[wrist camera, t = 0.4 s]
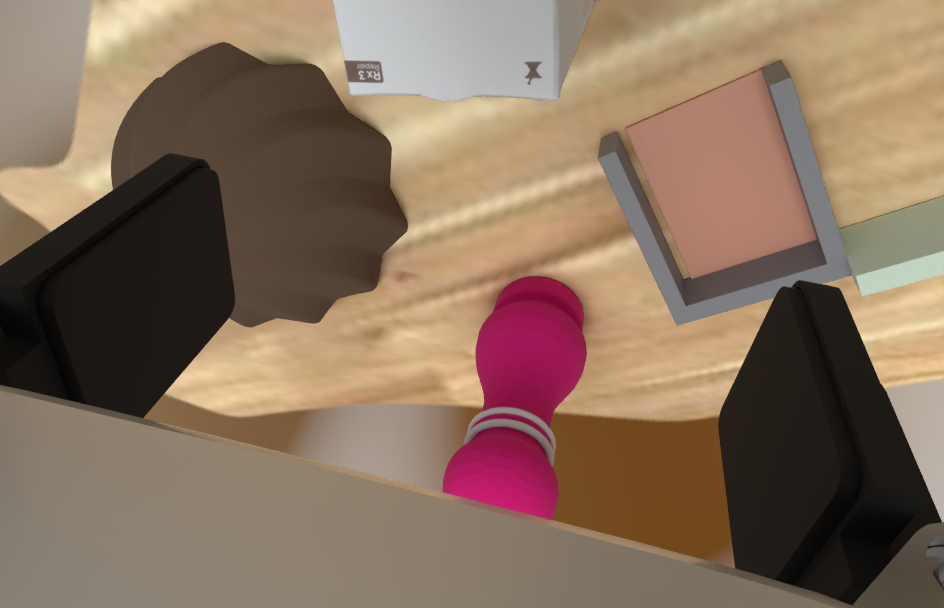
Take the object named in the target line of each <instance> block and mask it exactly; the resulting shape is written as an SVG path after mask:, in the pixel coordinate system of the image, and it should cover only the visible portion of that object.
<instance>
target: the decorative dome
mask: <svg viewBox="0 0 944 608" xmlns="http://www.w3.org/2000/svg"><path fill="white" fill-rule="evenodd" d="M391 151H392V148H391V144H390V142H389V140H388V139H387V138H386V137H385V136H384V135H382V134H380V133H379V132H377V131H376V130H375V129H373V128H372V127H370V126H369V125H367V124H365V123H364V122H362V121H361V120H359V119H358V118H356V117H355V116H353V115H352V114H350V113H349V112H348V111H347V110H346V108H345V106H344V105H343V103H342V102H341V100H340V98H339V97H338V95H337V93H336V92H335V90H334V89H333V87H332V85H331V84H330V82H329V80H328V79H327V77H326V76H325V74H324V72H323V71H322V70H321V69H320V68H319V67H317V66H315V65H312V64H298V65H269V64H267V63H265V62H263V61H261V60H259V59H257V58H255V57H253V56H251V55H250V54H248V53H246V52H244V51H242V50H240V49H238V48H236V47H235V46H233V45H231V44H229V43H225V42H223V43H219V44H216V45H213V46H211V47H209V48H206V49H204V50H202V51H200V52H198V53H196V54H194V55H192V56H190V57H188V58H186V59H185V60H183V61H181V62H180V63H178V64H177V65H175V66H174V67H173V68H172V69H170V70H169V71H168V72H167V73H165V74H164V75H163V76H162V77H159V78H156V79H155V80H154V81H153V82H152V83H151V84H150V85H149V86H148V87H147V88H146V89H145V90H144V91H143V92H142V93H141V95H140V96H139V97H138V98H137V99H136V101H135V102H134V103H133V105H132V106H131V108H130V109H129V111H128V112H127V114H126V116H125V117H124V119H123V121H122V123H121V125H120V128H119V130H118V133H117V135H116V138H115V142H114V146H113V152H112V160H111V177H112V186H113V190H114V189H116V188H117V187H118V186H120V185H121V184H123V183H124V182H126V181H127V180H129V179H130V178H132V177H133V176H135V175H136V174H138V173H139V172H141V171H142V170H144V169H145V168H147V167H148V166H150V165H151V164H153V163H154V162H156V161H157V160H159V159H160V158H162V157H163V156H164V155H166V154H169V153H174V154H179V155H184V156H189V157H194V158H199V159H204V160H205V161H206V162H207V163H208V164H209V166H210V169H211V170H214V171H215V172H216V173H217V175H218V177H219V182H220V190H221V197H222V204H223V211H224V219H225V226H226V233H227V240H228V248H229V255H230V262H231V270H232V277H233V284H234V291H235V306H234V309H233V312H232V314H231V316H230V317H229V318H230V319H232V320H233V321H235V322H237V323H239V324H241V325H243V326H246V327H254V326H257V325H259V324H262V323H264V322H267V321H270V320H273V319H276V318H280V319H288V320H294V321H300V322H306V323H318V322H320V321H321V319H322V318H323V317H324V315H325V314H326V313H327V311H328V310H329V308H330V307H331V306H332V305H333V303H334V302H335V301H336V300H337V299H339V298H342V297H346V296H350V295H354V294H359V293H365V292H370V291H373V290H374V289H375V288H376V286H377V282H378V277H379V271H380V265H381V260H382V255H383V253H384V252H385V251H387V250H388V249H389V248H390V247H391V246H392V245H393V244H394V243H395V242H396V241H397V240H398V239H399V238H400V237H402V236H403V235H404V234H405V233H406V231H407V229H408V223H407V221H406V219H405V217H404V215H403V213H402V211H401V209H400V207H399V204H398V202H397V200H396V198H395V196H394V194H393V192H392V190H391V188H390V171H391Z"/></svg>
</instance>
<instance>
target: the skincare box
mask: <svg viewBox="0 0 944 608" xmlns="http://www.w3.org/2000/svg"><path fill="white" fill-rule="evenodd" d="M594 1H595V0H333V3H334V9H335V14H336V20H337V25H338V31H339V36H340V41H341V47H342V52H343V58H344V63H345V69H346V76H347V82H348V89H349V93H350V95H352V96H378V95H405V96H426V97H429V98H432V99H435V100H440V101H461V100H464V99H467V98H470V97H510V98H522V99H531V100H540V101H555V100H558V99H559V97H560V90H561V87H562V85H563V82H564V79H565V77H566V75H567V72H568V69H569V67H570V64H571V62H572V59H573V57H574V54H575V51H576V49H577V46H578V43H579V41H580V38H581V36H582V33H583V31H584V28H585V25H586V23H587V21H588V18H589V16H590V13H591V11H592V8H593V6H594Z"/></svg>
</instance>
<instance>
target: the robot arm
mask: <svg viewBox="0 0 944 608" xmlns="http://www.w3.org/2000/svg"><path fill="white" fill-rule="evenodd" d="M234 306H235V291H234V284H233V277H232V270H231V262H230V255H229V248H228V240H227V233H226V226H225V219H224V211H223V204H222V197H221V190H220V182H219V177H218V175H217V173H216V172H215V171H214V170H211V169H210V166H209V164H208V163H207V162H206V161H205V160H204V159H199V158H194V157H189V156H184V155H179V154H174V153H169V154H166V155H164V156H163V157H162V158H160V159H159V160H157V161H156V162H154V163H153V164H151V165H150V166H148V167H147V168H145V169H144V170H142V171H141V172H139V173H138V174H136V175H135V176H133V177H132V178H130V179H129V180H127V181H126V182H124V183H123V184H121V185H120V186H118V187H117V188H116V189H114V190H113V191H111V192H110V193H108V194H107V195H105V196H104V197H102V198H101V199H99V200H98V201H96V202H95V203H93V204H92V205H90V206H89V207H87V208H86V209H84V210H83V211H81V212H80V213H78V214H77V215H75V216H74V217H72V218H71V219H70V220H68V221H67V222H65V223H64V224H62V225H61V226H59V227H58V228H56V229H55V230H53V231H52V232H50V233H49V234H47V235H46V236H44V237H43V238H41V239H40V240H38V241H37V242H35V243H34V244H32V245H31V246H29V247H28V248H26V249H25V250H24V251H22V252H21V253H19V254H18V255H16V256H15V257H13V258H12V259H10V260H9V261H7V262H6V263H4V264H3V265H1V266H0V608H944V522H943V523H942V521H941V519H940V517H939V514H938V512H937V509H936V507H935V505H934V502H933V500H932V498H931V495H930V493H929V491H928V488H927V486H926V483H925V481H924V479H923V476H922V474H921V472H920V469H919V467H918V465H917V462H916V460H915V458H914V456H913V453H912V451H911V448H910V446H909V444H908V442H907V439H906V437H905V435H904V432H903V430H902V427H901V425H900V423H899V421H898V419H897V416H896V413H895V411H894V409H893V407H892V404H891V402H890V399H889V397H888V395H887V392H886V391H885V389H884V388H883V386H882V384H880V381H879V379H878V377H877V374H876V372H875V370H874V367H873V365H872V363H871V360H870V358H869V355H868V353H867V351H866V348H865V346H864V344H863V341H862V339H861V337H860V334H859V332H858V329H857V327H856V325H855V322H854V320H853V318H852V315H851V313H850V311H849V308H848V306H847V303H846V301H845V299H844V296H843V294H842V292H841V290H840V289H839V288H837V287H833V286H828V285H823V284H818V283H813V282H808V281H803V280H798V281H796V282H795V283H794V284H793V286H792V287H786V286H783V287H781V288H780V289H779V290H778V292H777V294H776V296H775V298H774V300H773V302H772V304H771V306H770V308H769V310H768V312H767V315H766V317H765V319H764V321H763V323H762V325H761V327H760V329H759V331H758V333H757V335H756V337H755V340H754V342H753V344H752V346H751V348H750V350H749V352H748V354H747V356H746V358H745V360H744V362H743V365H742V367H741V369H740V371H739V373H738V375H737V377H736V379H735V381H734V383H733V385H732V387H731V390H730V392H729V394H728V396H727V398H726V400H725V402H724V404H723V406H722V409H721V412H720V416H719V425H718V428H719V438H720V446H721V454H722V462H723V471H724V479H725V488H726V496H727V504H728V513H729V521H730V529H731V537H732V546H733V554H734V561H735V568H732V567H728V566H725V565H721V564H717V563H714V562H710V561H706V560H702V559H699V558H695V557H691V556H687V555H683V554H680V553H676V552H672V551H668V550H665V549H661V548H657V547H654V546H650V545H646V544H642V543H639V542H635V541H631V540H627V539H623V538H619V537H615V536H612V535H608V534H604V533H600V532H596V531H592V530H588V529H584V528H580V527H576V526H572V525H568V524H565V523H560V522H557V521H553V520H549V519H545V518H541V517H537V516H533V515H529V514H525V513H522V512H518V511H514V510H510V509H506V508H502V507H498V506H494V505H490V504H486V503H482V502H478V501H475V500H471V499H467V498H463V497H459V496H455V495H451V494H447V493H443V492H439V491H435V490H431V489H427V488H423V487H419V486H415V485H411V484H407V483H403V482H398V481H395V480H391V479H387V478H383V477H379V476H375V475H371V474H367V473H363V472H359V471H355V470H351V469H347V468H343V467H339V466H335V465H331V464H327V463H323V462H319V461H315V460H310V459H307V458H303V457H299V456H294V455H291V454H287V453H283V452H279V451H274V450H271V449H267V448H263V447H259V446H254V445H251V444H246V443H242V442H238V441H234V440H230V439H226V438H222V437H218V436H214V435H209V434H205V433H201V432H197V431H193V430H189V429H184V428H181V427H176V426H172V425H168V424H164V423H160V422H156V421H152V420H148V419H144V417H145V415H146V414H147V413H148V412H149V410H151V408H152V407H153V406H154V405H155V404H156V402H157V401H158V400H159V399H160V398H161V397H162V396H163V394H164V393H165V392H166V391H167V390H168V389H169V387H170V386H171V385H172V384H173V383H174V381H175V380H176V379H177V378H178V377H179V376H180V374H181V373H182V372H183V371H184V370H185V369H186V367H187V366H188V365H189V364H190V363H191V362H192V360H193V359H194V358H195V357H196V356H197V355H198V353H199V352H200V351H201V350H202V349H203V348H204V346H205V345H206V344H207V343H208V342H209V341H210V339H211V338H212V337H213V336H214V335H215V334H216V332H217V331H218V330H219V329H220V328H221V327H222V325H223V324H224V323H225V322H226V321H227V320H228V318H229V317H230V316H231V314H232V312H233V309H234Z"/></svg>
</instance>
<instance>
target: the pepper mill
mask: <svg viewBox="0 0 944 608" xmlns="http://www.w3.org/2000/svg"><path fill="white" fill-rule="evenodd" d="M583 316H584V314H583V309H582V306H581V304H580V301H579V299H578V298H577V297H576V295H575V294H574V293H573V292H572V291H571V290H570V289H569V288H567V287H566V286H564V285H563V284H561V283H559V282H557V281H554V280H551V279H548V278H543V277H528V278H524V279H521V280H517V281H515V282H513V283H511V284H510V285H508V286H507V287H506V288H505V289H504V290H503V291H502V292H501V294H500V295H499V297H498V299H497V302H496V305H495V308H494V312H493V313H492V314H491V315H490V316H489V317H488V318H487V319H486V321H485V322H484V324H483V325H482V327H481V329H480V331H479V335H478V340H477V345H476V366H477V372H478V375H479V379H480V382H481V385H482V389H483V393H484V406H483V411H482V412H481V413H480V414H478V415H476V416H475V417H474V418H473V420H472V421H471V422H470V424H469V427H468V431H467V435H466V437H465V440H464V445H463V446H462V447H461V448H460V449H459V450H458V451H457V452H456V453H455V454H454V455H453V457H452V458H451V460H450V462H449V463H448V466H447V468H446V472H445V475H444V479H443V491H442V492H443V493H447V494H451V495H455V496H459V497H463V498H467V499H471V500H475V501H478V502H482V503H486V504H490V505H494V506H498V507H502V508H506V509H510V510H514V511H518V512H522V513H525V514H529V515H533V516H537V517H541V518H545V519H549V520H552V518H553V515H554V513H555V511H556V506H557V501H558V496H559V491H558V480H557V477H556V474H555V471H554V469H553V467H552V466H553V463H554V453H555V449H556V442H555V438H554V435H553V433H552V431H551V429H550V423H551V420H552V416H553V412H554V410H555V409H556V407H557V406H558V405H559V404H560V403H561V402H562V401H563V400H564V399H565V398H566V397H567V396H568V395H569V394H570V392H571V391H572V390H573V389H574V388H575V386H576V385H577V383H578V381H579V379H580V378H581V375H582V373H583V370H584V365H585V361H586V355H587V351H586V342H585V339H584V336H583V334H582V327H583Z"/></svg>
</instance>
